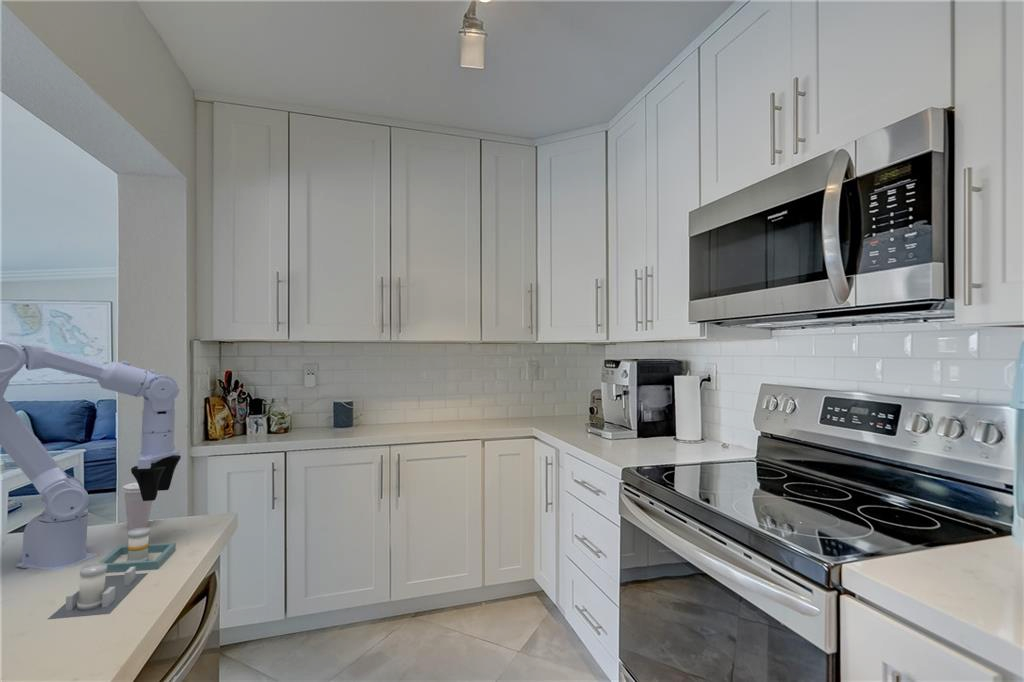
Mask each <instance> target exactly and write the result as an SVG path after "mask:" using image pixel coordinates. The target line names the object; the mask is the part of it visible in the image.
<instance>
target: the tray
mask: <svg viewBox="0 0 1024 682" xmlns="http://www.w3.org/2000/svg"><path fill="white" fill-rule="evenodd" d="M176 545H177V543H176V542H169V543H168V542H167V543H153V544H151V543H149V547H148V554H153V553H154V554H155V553H157V554H159V553H160V554H159V555H158V556H157V557H156V558H155V559H153V560H152V559H151V560H148V561H136V562H127V561H123V562H115V561H116V560H117V559H118V558H119V557H120V556H123V555H128V545H118V546H117V547H116V548H115V549H114V550H112V551H111V552H110V553H108V554H107V555H106V556H105V557H103V558H102V559H100V561H98V563H106V564H107V571H106V574H112V573H122V572H123V573H125V572H126V571H127V570H128V569H129V568H130V567H136V572H139V571H140V572H142V571H155V570H159V569H160V567H161V566H163V564H165V562H166V561H167V560H168V559H169V558H170V557H171V555H172V554H174V552H175V551H176V550H177V549H176Z"/></svg>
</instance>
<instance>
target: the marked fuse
mask: <svg viewBox="0 0 1024 682" xmlns="http://www.w3.org/2000/svg"><path fill="white" fill-rule="evenodd" d="M150 531H151V528H150V527H148V526H147V527H141V528H135V529H132V530H130V529H128V532H127V536H128V540H127V541H128V543H127V544H128V545H127V546H128V554H127V557H126V562H136V561H149V553H148V547H149V544H150V542H149V541H150Z"/></svg>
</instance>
